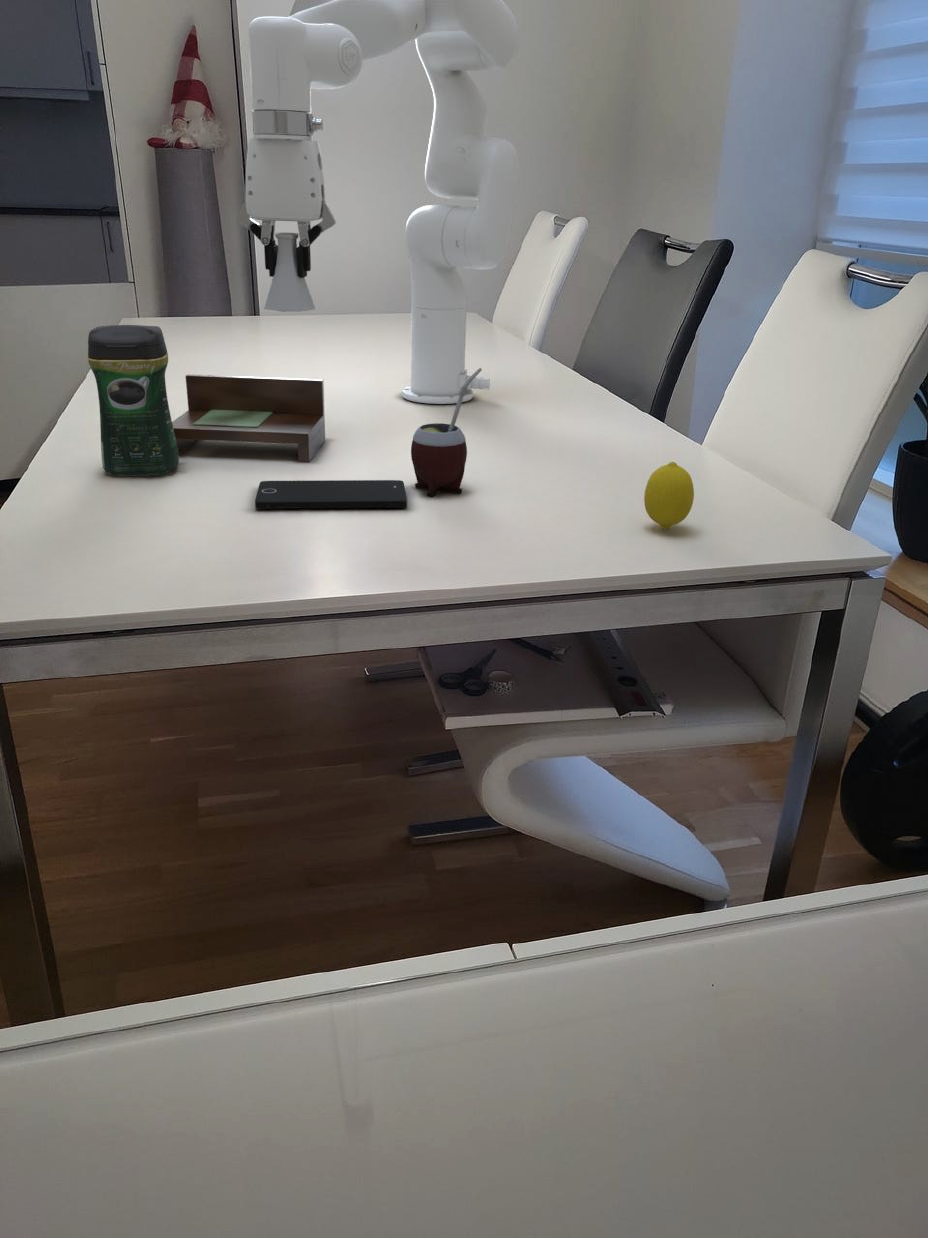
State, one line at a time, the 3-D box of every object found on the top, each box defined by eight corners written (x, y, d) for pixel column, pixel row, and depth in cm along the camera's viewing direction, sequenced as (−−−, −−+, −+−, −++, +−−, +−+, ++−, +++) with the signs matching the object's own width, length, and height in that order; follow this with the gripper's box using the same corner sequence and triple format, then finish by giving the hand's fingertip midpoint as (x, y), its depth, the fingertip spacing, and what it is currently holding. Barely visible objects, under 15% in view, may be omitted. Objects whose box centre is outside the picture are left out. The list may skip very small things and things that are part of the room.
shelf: (325, 440, 149) (323, 379, 146) (309, 462, 139) (306, 396, 135) (192, 435, 150) (187, 374, 147) (166, 456, 139) (160, 391, 136)
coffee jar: (183, 461, 137) (169, 320, 130) (175, 477, 130) (160, 330, 122) (109, 462, 136) (91, 320, 128) (97, 478, 129) (78, 329, 121)
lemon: (635, 521, 119) (642, 455, 116) (681, 521, 119) (689, 455, 116) (647, 537, 114) (655, 468, 111) (695, 537, 114) (704, 469, 111)
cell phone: (260, 487, 127) (260, 480, 126) (403, 486, 129) (403, 479, 128) (254, 509, 119) (254, 502, 118) (407, 508, 121) (407, 500, 120)
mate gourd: (402, 493, 126) (402, 373, 120) (425, 477, 133) (426, 362, 127) (457, 501, 124) (460, 378, 118) (478, 484, 131) (482, 367, 125)
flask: (306, 314, 136) (303, 235, 132) (255, 311, 137) (251, 233, 133) (322, 308, 143) (320, 232, 139) (274, 305, 144) (270, 230, 140)
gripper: (349, 130, 134) (351, 275, 142) (227, 126, 135) (235, 271, 142) (341, 128, 127) (343, 281, 135) (212, 124, 128) (221, 276, 135)
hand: (288, 274), depth 138 cm, fingers closed on flask, 3 cm apart
